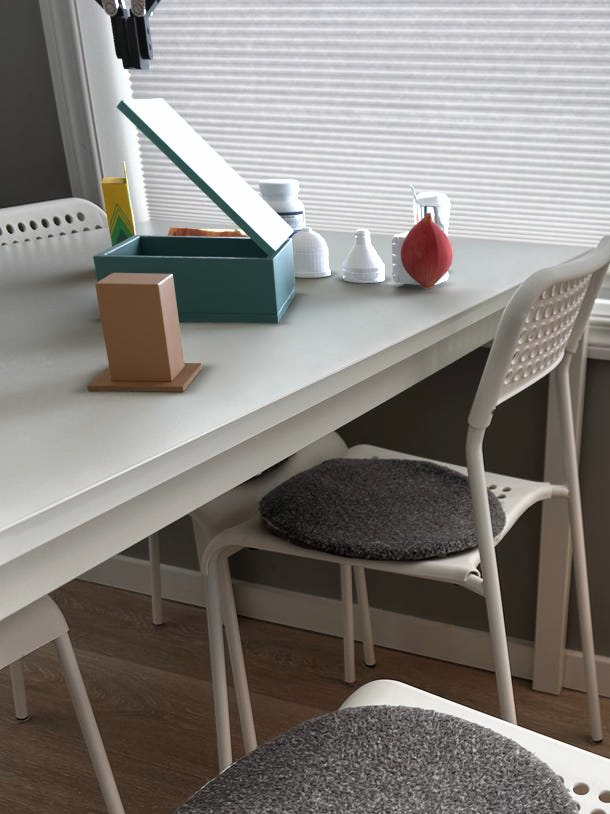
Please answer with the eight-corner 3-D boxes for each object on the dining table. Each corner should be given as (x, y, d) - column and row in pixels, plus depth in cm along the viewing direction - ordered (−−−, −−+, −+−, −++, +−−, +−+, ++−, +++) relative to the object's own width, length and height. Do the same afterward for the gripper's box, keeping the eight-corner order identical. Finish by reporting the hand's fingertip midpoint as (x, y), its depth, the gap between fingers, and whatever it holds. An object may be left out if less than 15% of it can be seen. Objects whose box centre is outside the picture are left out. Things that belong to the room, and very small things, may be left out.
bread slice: (168, 242, 135) (164, 214, 133) (296, 242, 138) (294, 214, 136) (154, 262, 120) (150, 231, 118) (298, 262, 123) (296, 231, 121)
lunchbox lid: (116, 107, 82) (121, 99, 82) (157, 104, 95) (162, 98, 94) (270, 257, 89) (275, 251, 88) (289, 236, 101) (294, 230, 101)
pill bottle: (264, 264, 121) (257, 178, 116) (310, 265, 121) (304, 179, 116) (259, 272, 116) (251, 182, 111) (306, 272, 116) (301, 183, 111)
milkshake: (401, 271, 119) (399, 183, 114) (434, 267, 123) (434, 182, 117) (422, 276, 116) (422, 186, 111) (456, 272, 120) (457, 185, 115)
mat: (87, 390, 70) (86, 385, 70) (114, 366, 76) (113, 361, 76) (183, 391, 71) (182, 386, 70) (202, 368, 77) (201, 362, 76)
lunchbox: (103, 320, 91) (92, 256, 88) (142, 292, 103) (134, 234, 100) (278, 323, 92) (273, 259, 89) (296, 294, 104) (292, 238, 101)
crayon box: (115, 263, 119) (99, 160, 113) (140, 262, 120) (125, 160, 114) (115, 272, 113) (97, 164, 107) (141, 272, 114) (125, 164, 108)
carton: (111, 381, 71) (94, 283, 68) (127, 366, 75) (112, 272, 72) (171, 382, 71) (158, 284, 68) (185, 366, 75) (172, 273, 72)
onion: (391, 289, 107) (390, 212, 103) (419, 282, 111) (419, 208, 107) (434, 295, 105) (435, 216, 101) (461, 288, 109) (463, 212, 105)
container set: (448, 283, 113) (449, 233, 110) (431, 290, 109) (431, 238, 106) (300, 269, 119) (297, 221, 116) (279, 275, 115) (275, 226, 112)
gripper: (201, -178, 81) (226, 72, 91) (23, -184, 80) (67, 68, 90) (182, -200, 75) (211, 71, 84) (-12, -208, 74) (39, 66, 83)
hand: (136, 68), depth 87 cm, fingers closed
